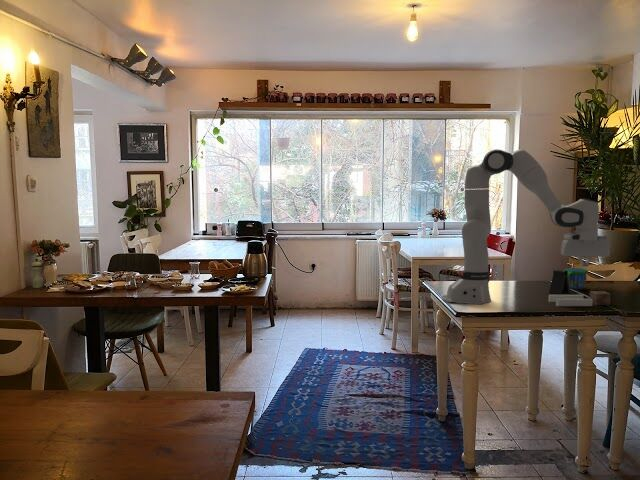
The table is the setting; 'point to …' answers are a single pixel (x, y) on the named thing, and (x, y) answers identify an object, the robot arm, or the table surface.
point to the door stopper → (560, 282)
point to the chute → (570, 300)
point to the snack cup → (576, 277)
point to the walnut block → (600, 297)
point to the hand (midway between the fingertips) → (584, 266)
